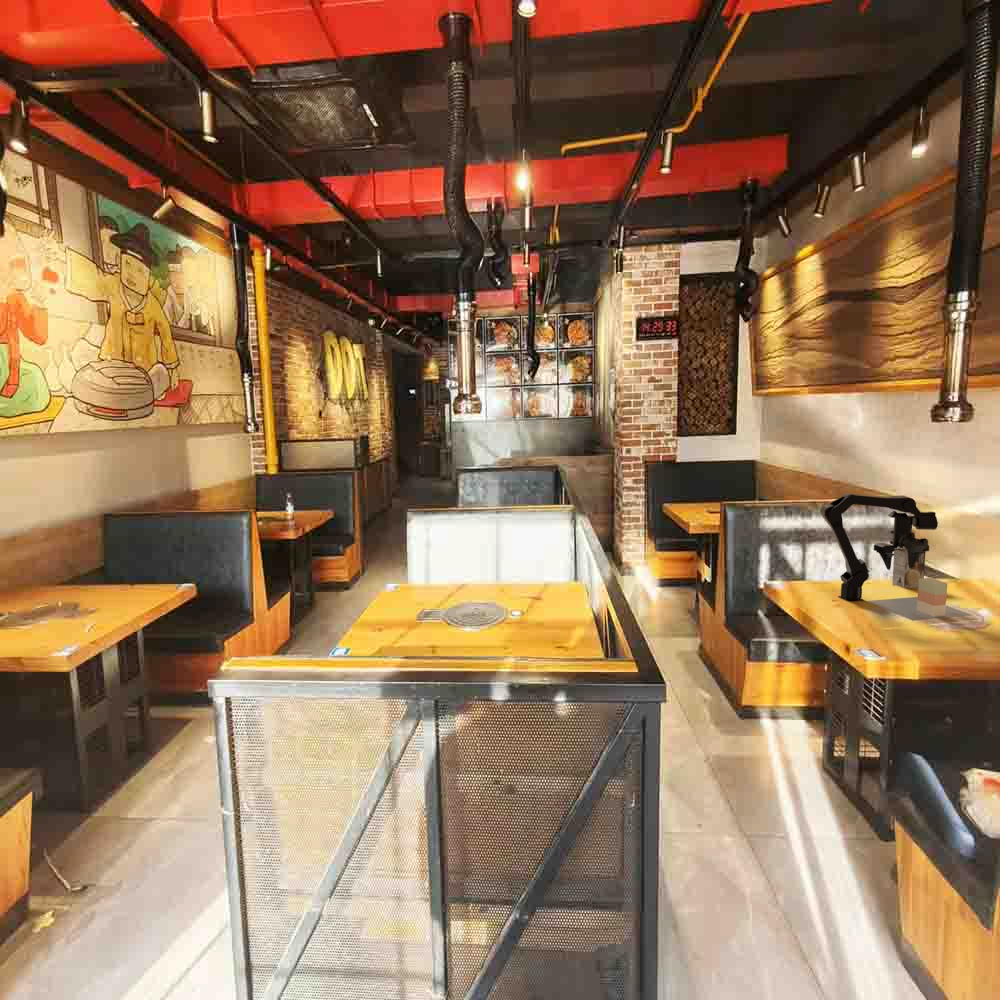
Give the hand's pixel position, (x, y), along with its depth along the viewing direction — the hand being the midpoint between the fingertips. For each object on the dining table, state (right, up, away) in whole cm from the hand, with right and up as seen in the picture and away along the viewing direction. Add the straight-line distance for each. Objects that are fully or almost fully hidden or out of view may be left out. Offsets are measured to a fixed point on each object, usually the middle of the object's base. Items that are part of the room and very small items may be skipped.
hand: (899, 569), depth 223 cm
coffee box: (+17, -10, +20) cm, 28 cm away
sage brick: (+2, -6, -14) cm, 15 cm away
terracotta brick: (+2, -10, -13) cm, 17 cm away
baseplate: (+2, -14, -7) cm, 16 cm away
